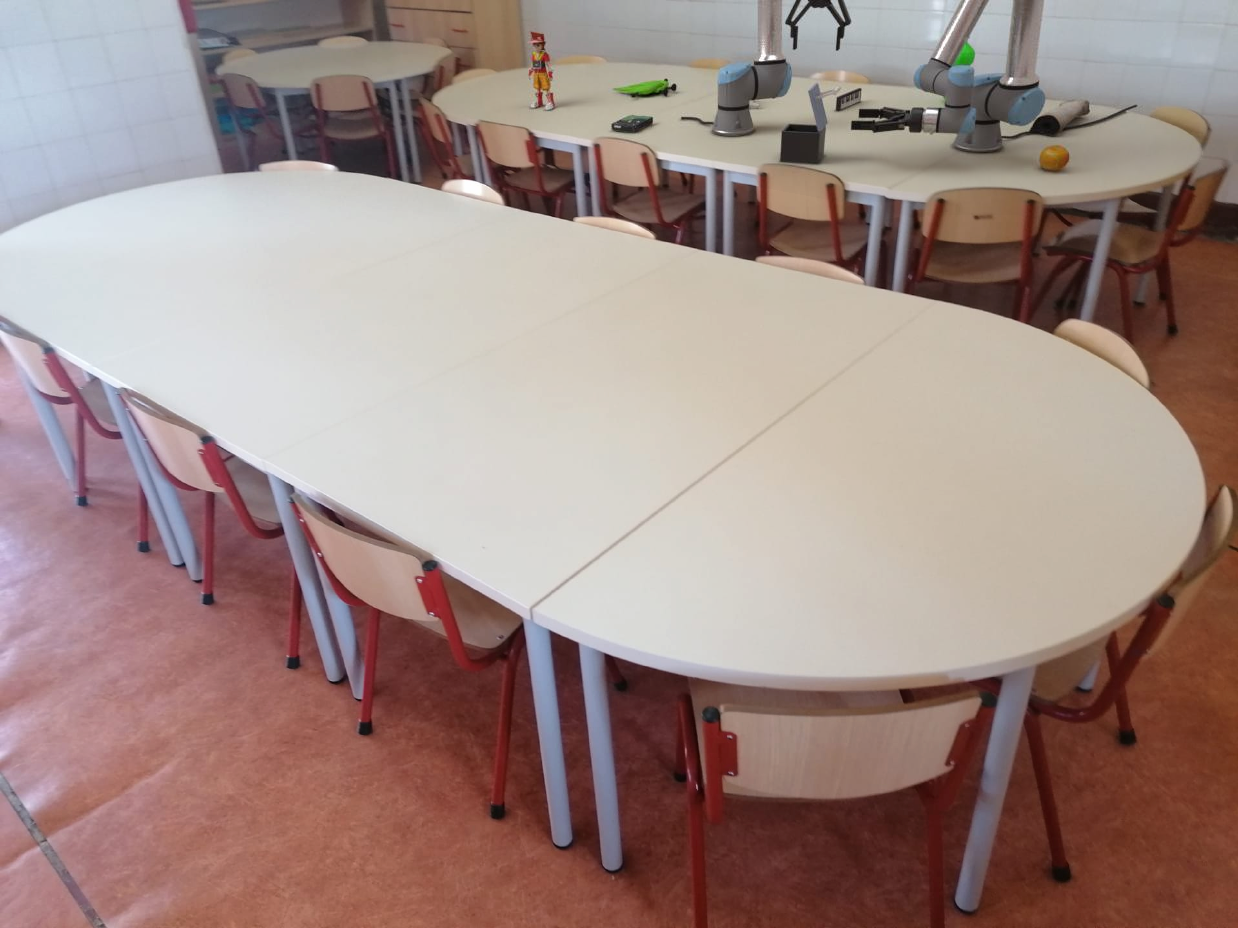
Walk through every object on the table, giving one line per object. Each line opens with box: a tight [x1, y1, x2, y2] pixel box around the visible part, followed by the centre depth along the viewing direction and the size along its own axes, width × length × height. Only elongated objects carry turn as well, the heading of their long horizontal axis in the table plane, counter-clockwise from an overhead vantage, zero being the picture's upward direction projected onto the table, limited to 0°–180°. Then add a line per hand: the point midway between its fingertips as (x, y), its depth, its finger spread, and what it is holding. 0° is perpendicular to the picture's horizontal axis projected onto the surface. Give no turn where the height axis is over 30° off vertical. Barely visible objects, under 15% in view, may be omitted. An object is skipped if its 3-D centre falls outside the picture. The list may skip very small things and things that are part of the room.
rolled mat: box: [1028, 99, 1091, 137], centre depth 319 cm, size 30×9×10 cm
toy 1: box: [527, 31, 556, 111], centre depth 374 cm, size 12×9×30 cm
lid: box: [807, 82, 842, 132], centre depth 291 cm, size 13×10×8 cm
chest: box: [779, 123, 827, 165], centre depth 301 cm, size 13×10×10 cm
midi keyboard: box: [835, 87, 863, 112], centre depth 357 cm, size 18×1×5 cm, turn 138°
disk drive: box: [610, 114, 654, 133], centre depth 348 cm, size 10×3×15 cm
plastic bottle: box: [942, 35, 976, 100], centre depth 348 cm, size 10×10×25 cm
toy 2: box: [612, 78, 677, 99], centre depth 396 cm, size 28×5×30 cm
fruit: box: [1038, 144, 1071, 172], centre depth 279 cm, size 8×8×8 cm
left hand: (816, 49), depth 284 cm, fingers open, 13 cm apart
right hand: (855, 119), depth 290 cm, fingers open, 13 cm apart
